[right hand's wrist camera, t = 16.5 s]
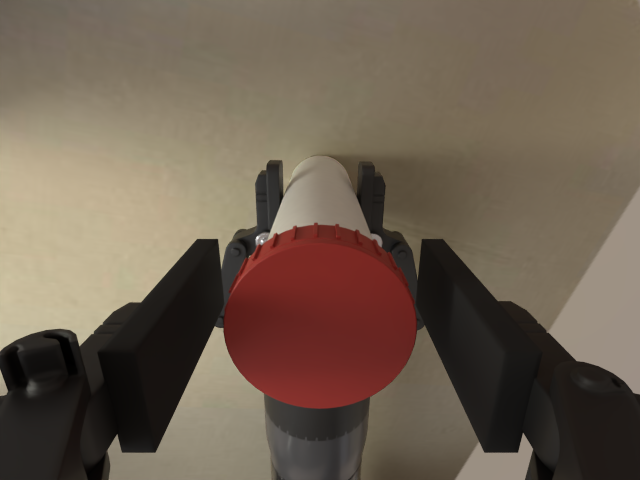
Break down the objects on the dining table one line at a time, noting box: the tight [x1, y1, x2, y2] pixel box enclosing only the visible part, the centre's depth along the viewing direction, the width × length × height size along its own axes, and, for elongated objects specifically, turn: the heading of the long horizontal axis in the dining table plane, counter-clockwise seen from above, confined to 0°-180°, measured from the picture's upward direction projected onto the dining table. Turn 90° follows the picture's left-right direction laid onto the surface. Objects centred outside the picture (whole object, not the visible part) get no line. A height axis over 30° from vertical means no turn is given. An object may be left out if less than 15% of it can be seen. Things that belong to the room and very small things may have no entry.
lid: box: [223, 223, 417, 409], centre depth 11 cm, size 6×6×2 cm
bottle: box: [267, 155, 373, 241], centre depth 20 cm, size 4×4×19 cm
